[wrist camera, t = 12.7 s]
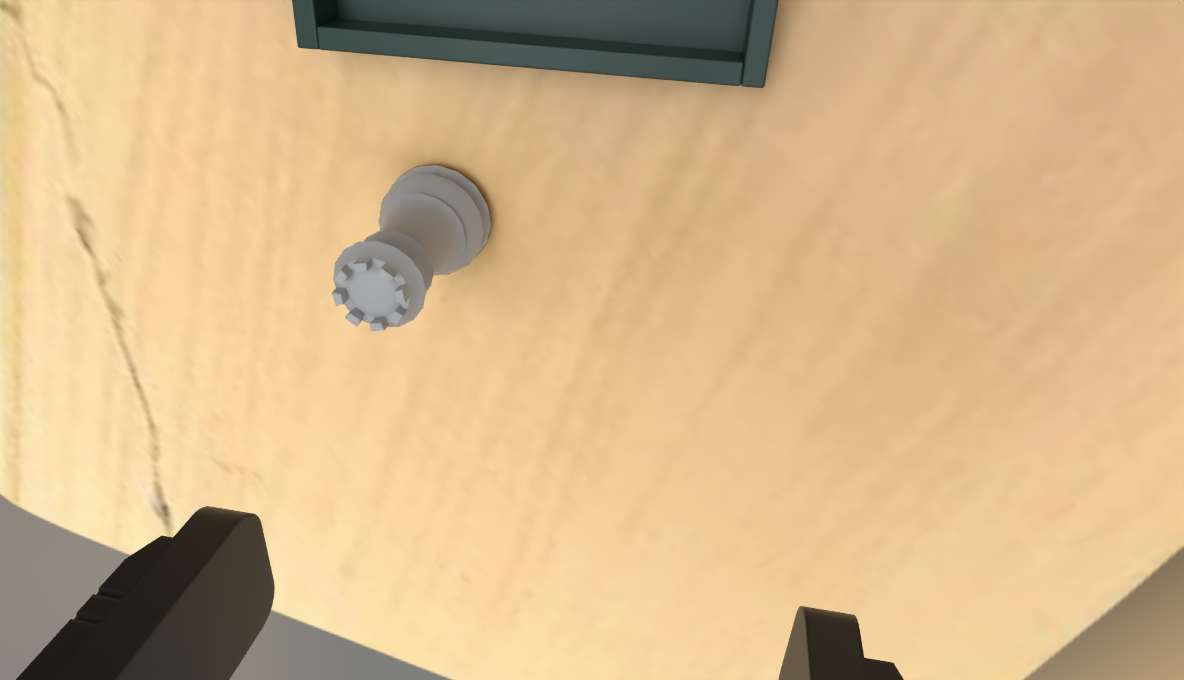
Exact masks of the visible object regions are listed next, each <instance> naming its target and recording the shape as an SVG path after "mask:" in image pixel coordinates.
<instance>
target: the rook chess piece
mask: <svg viewBox="0 0 1184 680" xmlns="http://www.w3.org/2000/svg"><path fill="white" fill-rule="evenodd" d="M379 224H380V231H379V232H377V233H375V234H373V235H371V236H369V237H367V238H366V239H365V241H364V242H358V243H356V244H354V245H352V246H350V247H348V248H347V249H345V250H344V251H343V252H342V254H341V255H340V257H339V258H338V260H337V261H336V263H335V270H334V278H333V279H334V283H335V286H336V289H335V290H334V291H333V292H332V294H333V298H334V301H335V304H336V306H337V305H341V304H345V305H346V307H347V308H348V309H349V311H350V312H349V313H348V314H347V316H346V317H345V318H346V319H347V320H349V321H350V322H351V323H353V324H354V325H356V326H358V324H359V323H360V322H361V321H362V320H363V321H365V322H368V323H370V327H371V331H381V330H385V329H386V328H387V327H398V326H401V325H403V324H405V323H407V322H410V321H412V320H414V318H415V317H416V316H417V314H418V313H419V312H420V311H421V309H422V308H423V305H424V299H425V294H426V291H427V290H428V289H429V287H430V286H431V282H432V277H433V276H434V275H444V274H450V273H452V272H454V271H456V270H458V269H461V268H463V267H465V266H467V265H468V264H469V263H470V262H471V261H472V259H473V258H475V257H476V256H477V255H478V253H479V252H480V251H481V250H482V248H483V247H484V246H485V245H486V243H487V239H488V235H489V231H490V227H491V222H490V217H489V211H488V206H487V203H486V202H485V200H484V198H483V197H482V195H481V193H480V192H479V190H478V189H477V187H476V186H475V185H474V184H473V183H472V182H470V181H469V180H468V179H467V178H465V177H464V176H463V175H462V174H460V173H459V172H457V171H454V170H451V169H448V168H445V167H442V166H439V165H433V166H418V167H415V168H413V169H412V170H410V171H408V172H406V173H404V174H403V175H401V176H400V177H399V178H398V179H397V181H396V182H395V184H393V186H392V187H391V188H390V190H389V191H388V193H387V194H386V196H385V197H384V199H383V201H382V206H381V212H380V219H379Z"/></svg>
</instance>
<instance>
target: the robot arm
mask: <svg viewBox="0 0 1184 680" xmlns="http://www.w3.org/2000/svg"><path fill="white" fill-rule="evenodd" d="M273 599H274V579H273V575H272V570H271V566H270V561H269V556H268V552H267V547H266V543H265V538H264V533H263V529H262V524H261V521H260V519H259V517H258V516H257V515H255V514H252V513H246V512H240V511H234V510H228V509H222V508H216V507H209V506H206V507H203V508H201V509H199V510H198V511H196V512H195V513H194V514H193V515H192V516H191V518H190V519H189V520H188V521H187V522H186V523H185V525H184V526H183V527H182V528H181V529H180V530H179V531H178V533H177V534H176V535H175V536H174V537H173V538H172V537H166V536H160V537H159V538H157V539H156V540H154V541H153V542H151V543H149V544H148V545H146V546H145V547H143V548H142V549H140V550H139V551H137V552H136V553H134V554H132V555H131V556H129V557H128V558H127V559H125V560H124V561H123V562H122V563H121V564H120V566H119V567H118V568H117V569H116V570H115V571H114V572H113V573H112V574H111V576H110V577H109V578H108V579H107V580H106V581H105V582H104V583H103V584H102V585H101V586H100V588H99V592H98V593H97V595H92V596H91V597H90V599H89V600H88V601H87V602H86V603H85V604H84V605H83V606H82V607H81V608H80V610H79V611H78V612H77V615H76V618H75V619H74V620H72V619H70V621H69V622H68V623H67V624H66V625H65V626H64V627H63V628H62V629H61V630H60V632H59V633H58V634H57V635H56V636H55V637H54V638H53V639H52V640H51V642H50V643H49V644H48V645H47V646H46V647H45V648H44V649H43V650H42V652H41V653H40V654H39V655H38V656H37V657H36V658H35V659H34V660H33V661H32V662H31V663H30V665H29V666H28V667H27V668H26V669H25V670H24V671H23V672H22V674H20V676H19V677H18V678H17V679H16V680H229V679H230V678H231V676H232V674H233V673H234V671H235V670H236V668H237V667H238V665H239V664H240V662H241V661H242V659H243V657H244V656H245V654H246V653H247V651H248V650H249V648H250V646H251V645H252V643H253V642H254V640H255V639H256V637H257V635H258V634H259V632H260V631H261V629H262V628H263V626H264V624H265V622H266V620H267V618H268V616H269V613H270V611H271V607H272V604H273ZM779 680H904V679H903V678H902V676H901V674H900V673H899V671H898V670H897V668H896V667H895V665H894V663H891V662H886V661H880V660H874V659H868V658H864V654H863V648H862V642H861V635H860V629H859V624H858V621H857V618H856V617H855V615H852V614H846V613H840V612H834V611H828V610H822V609H815V608H809V607H803V606H800V607H799V608H798V611H797V613H796V617H795V620H794V624H793V628H792V631H791V635H790V638H789V642H788V646H787V649H786V653H785V656H784V660H783V664H782V667H781V671H780V675H779Z"/></svg>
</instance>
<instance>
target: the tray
mask: <svg viewBox="0 0 1184 680" xmlns="http://www.w3.org/2000/svg"><path fill="white" fill-rule="evenodd" d="M292 3H293V11H294V19H295V27H296V35H297V43H298V47H299V48H307V49H321V50H330V51H341V52H353V53H364V54H376V55H387V56H399V57H410V58H422V59H433V60H445V61H456V62H468V63H479V64H491V65H502V66H514V67H525V68H537V69H548V70H560V71H571V72H583V73H594V74H606V75H617V76H629V77H640V78H652V79H663V80H675V81H686V82H698V83H709V84H720V85H732V86H740V85H741V86H745V87H756V88H763V87H764V86H765V80H766V74H767V68H768V62H769V56H770V49H771V43H772V37H773V31H774V25H775V18H776V12H777V6H778V0H292Z"/></svg>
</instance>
